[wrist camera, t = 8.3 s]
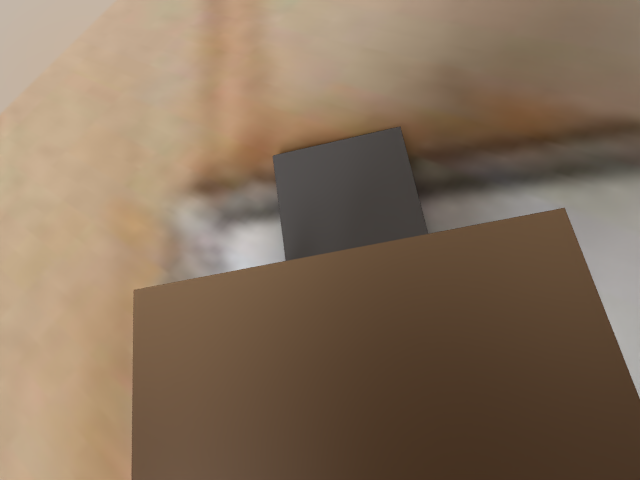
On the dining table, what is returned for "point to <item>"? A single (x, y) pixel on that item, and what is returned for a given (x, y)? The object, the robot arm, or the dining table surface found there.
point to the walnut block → (388, 365)
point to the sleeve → (347, 195)
